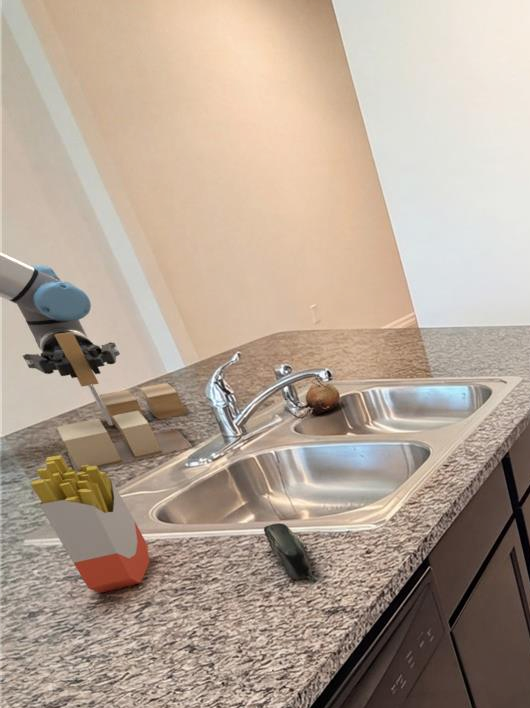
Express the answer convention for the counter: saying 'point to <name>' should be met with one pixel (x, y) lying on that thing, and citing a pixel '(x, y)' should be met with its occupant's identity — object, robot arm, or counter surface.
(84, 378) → the wooden handled screwdriver
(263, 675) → the counter surface
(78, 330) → the robot arm
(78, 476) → the french fries container
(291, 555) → the dark green zucchini
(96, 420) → the beige block
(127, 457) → the board
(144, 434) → the beige wooden block
